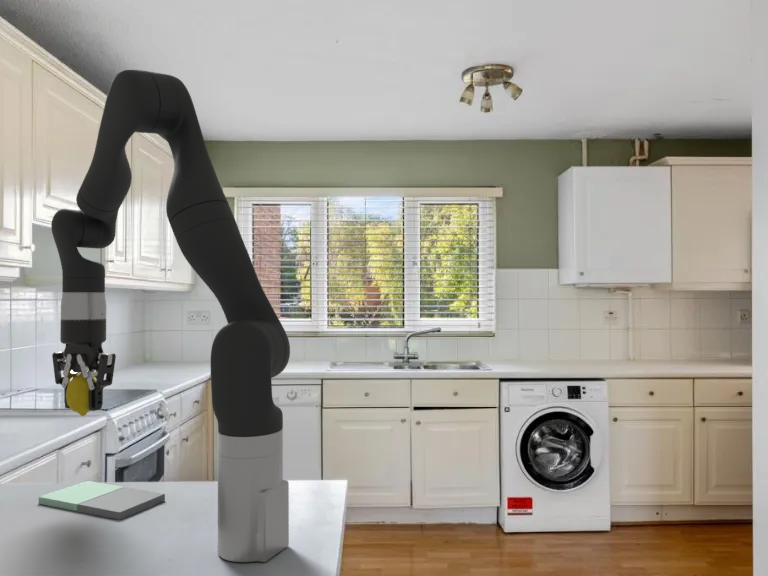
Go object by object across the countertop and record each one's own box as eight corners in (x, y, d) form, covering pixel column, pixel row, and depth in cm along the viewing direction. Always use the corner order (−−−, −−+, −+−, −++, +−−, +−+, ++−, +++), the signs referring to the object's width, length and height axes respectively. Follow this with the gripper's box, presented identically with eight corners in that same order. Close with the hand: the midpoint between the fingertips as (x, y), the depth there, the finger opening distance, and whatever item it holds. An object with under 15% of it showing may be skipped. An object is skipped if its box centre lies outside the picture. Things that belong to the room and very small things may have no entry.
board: (164, 500, 104) (164, 493, 105) (119, 519, 95) (119, 512, 95) (87, 487, 112) (87, 480, 112) (38, 503, 103) (38, 496, 103)
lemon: (85, 419, 103) (85, 374, 103) (58, 418, 104) (59, 374, 104) (106, 413, 108) (106, 370, 108) (80, 412, 109) (80, 370, 110)
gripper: (128, 316, 107) (128, 408, 107) (74, 316, 113) (74, 403, 112) (94, 318, 100) (93, 415, 100) (38, 317, 106) (37, 409, 106)
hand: (83, 408), depth 106 cm, fingers closed on lemon, 5 cm apart
